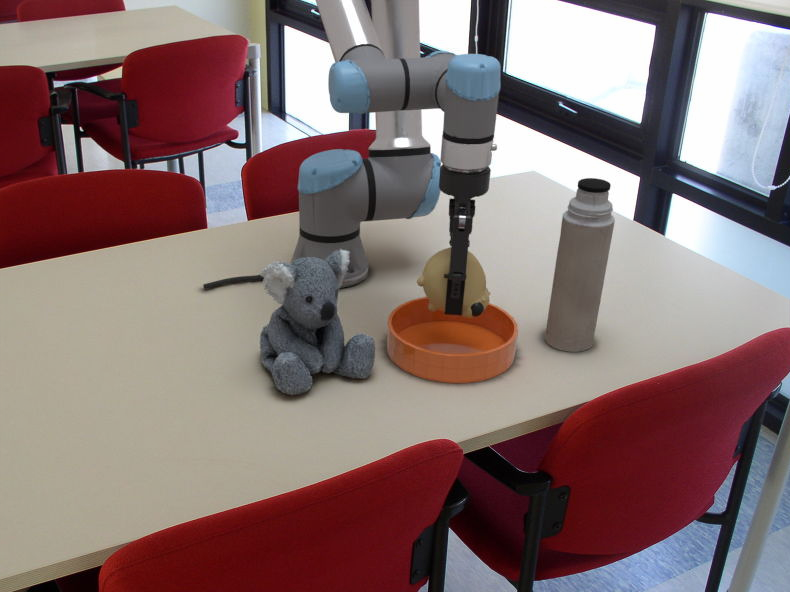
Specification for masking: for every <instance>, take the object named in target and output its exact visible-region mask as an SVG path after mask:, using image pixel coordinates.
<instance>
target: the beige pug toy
mask: <svg viewBox="0 0 790 592" xmlns="http://www.w3.org/2000/svg"><path fill="white" fill-rule="evenodd" d="M450 256H451V248H449V247H446V248H443V249H441V250H439V251H437V252H436V253H434V254H433V255H432V256H431V257H430V258H428V260H427V261H426V263H425V264H424V267H423V270H422V274H421V275H420V276H419V277H418V278H417V280H416V284H417V286H418V287H422V289H423V291H424V294H425V297H427V298H428V300H429V301H430V303H429V306H428V308H429V310H430V311H432V312H434V311H436V310H441V311H444V312H445V304H446V292H447V280H448V278H444V274H448V273H449V269H450ZM466 275H467V277H466V280H465V289H464V300H463V310H462V315H461V316H463V317H465V318H474V317H477V316H480V315H481V314H482V313H483V312H484V310H485V309H486V308H487V306H488V304H489V303H490V296H491V291H489V289H488V288H487V278H486V274H485V271H484V269H483V266H482V264H481V263H480V261H479V259H478V258H477V257H476V256H475V255H474V254H473V253H472V252H471V251H470V250H468V254H467V266H466Z"/></svg>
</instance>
